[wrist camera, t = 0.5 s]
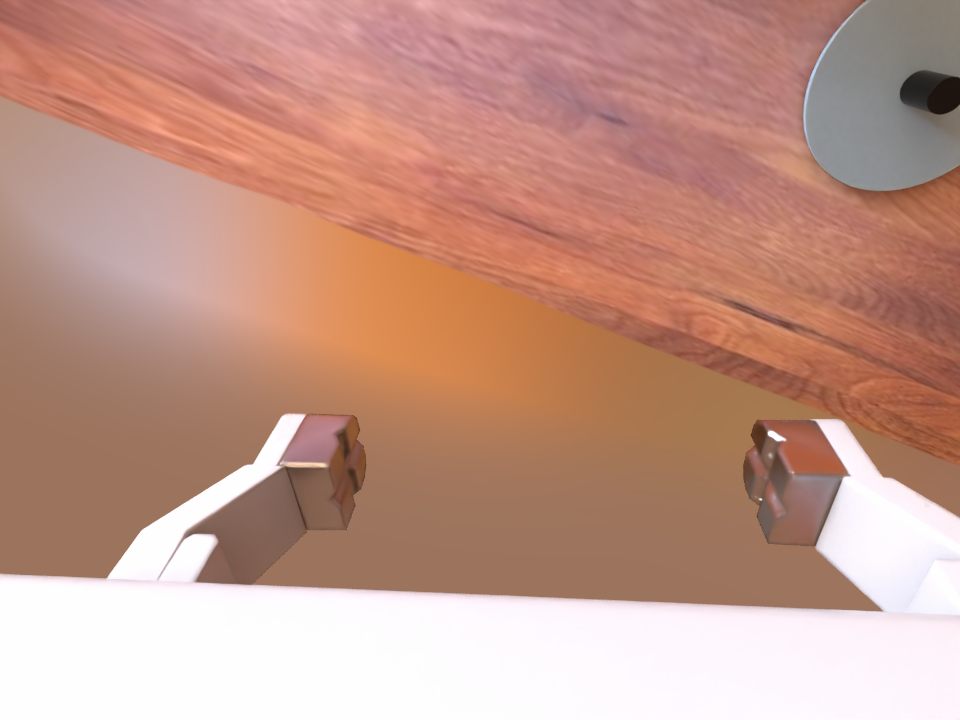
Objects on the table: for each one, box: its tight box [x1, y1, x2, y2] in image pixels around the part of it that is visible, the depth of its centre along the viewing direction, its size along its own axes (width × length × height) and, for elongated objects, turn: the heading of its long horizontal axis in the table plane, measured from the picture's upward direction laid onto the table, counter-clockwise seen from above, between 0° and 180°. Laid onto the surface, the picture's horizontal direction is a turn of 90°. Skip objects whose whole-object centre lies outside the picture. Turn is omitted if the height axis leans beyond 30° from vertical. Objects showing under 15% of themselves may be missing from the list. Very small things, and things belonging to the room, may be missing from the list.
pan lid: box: [803, 0, 960, 191], centre depth 45 cm, size 17×17×5 cm
